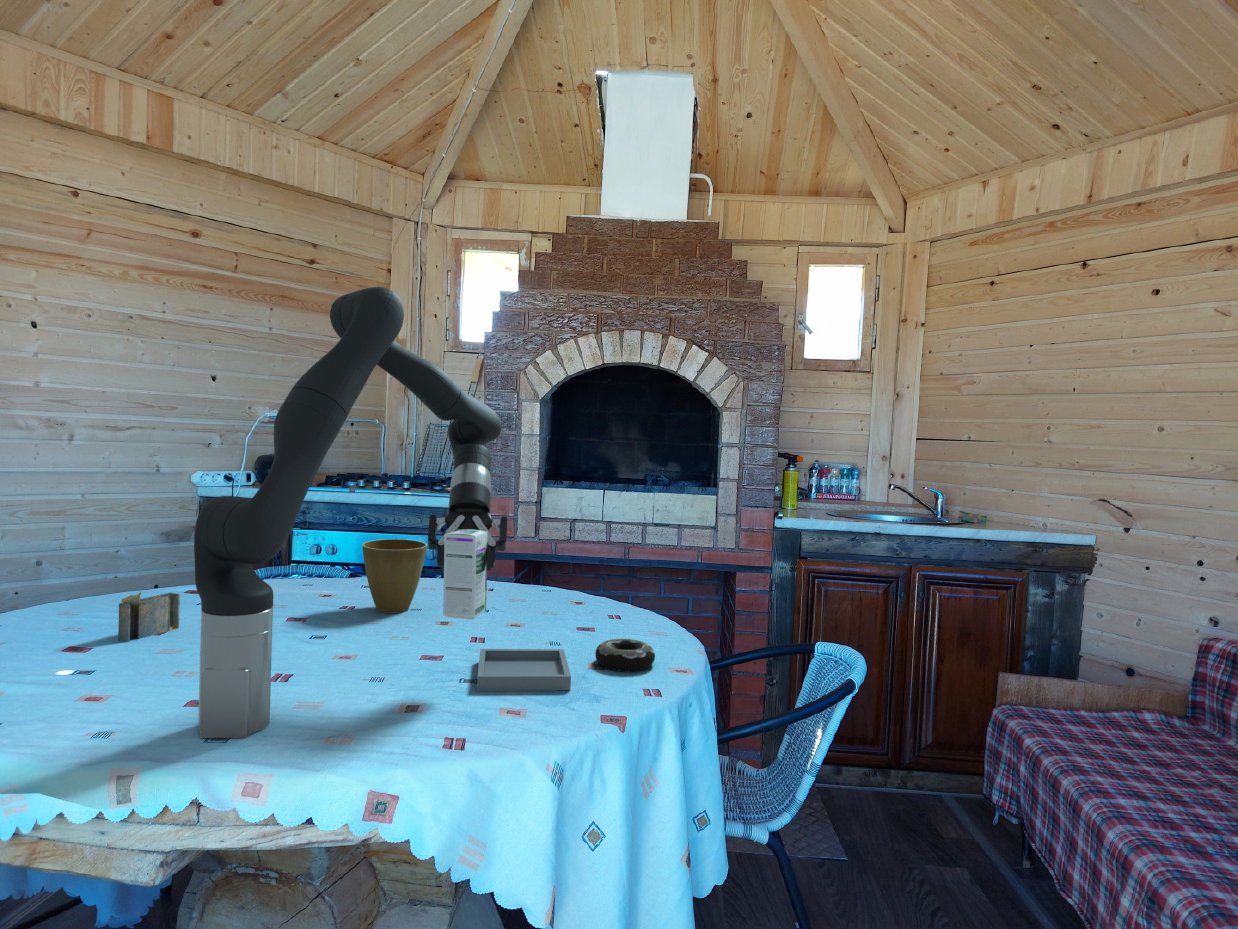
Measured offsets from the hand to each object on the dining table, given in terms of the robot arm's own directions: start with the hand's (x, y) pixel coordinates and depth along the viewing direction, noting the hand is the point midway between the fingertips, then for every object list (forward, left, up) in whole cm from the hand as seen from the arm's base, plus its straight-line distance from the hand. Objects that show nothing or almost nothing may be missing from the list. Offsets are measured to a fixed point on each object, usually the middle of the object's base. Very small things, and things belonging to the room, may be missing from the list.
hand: (465, 567), depth 127 cm
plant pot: (+54, +19, -21) cm, 61 cm away
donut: (+13, -31, -21) cm, 39 cm away
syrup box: (+1, 0, -9) cm, 9 cm away
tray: (+6, -11, -21) cm, 24 cm away
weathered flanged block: (+32, +63, -21) cm, 74 cm away
